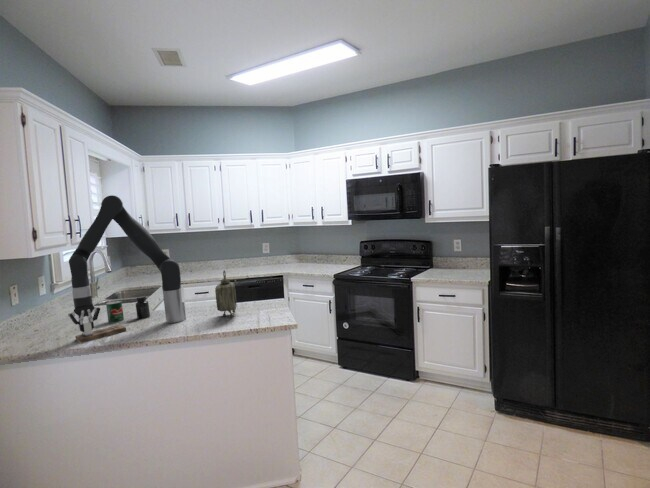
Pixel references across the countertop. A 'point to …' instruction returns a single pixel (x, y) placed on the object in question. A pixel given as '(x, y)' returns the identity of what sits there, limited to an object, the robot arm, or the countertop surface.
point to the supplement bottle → (142, 308)
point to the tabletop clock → (226, 296)
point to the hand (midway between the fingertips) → (87, 330)
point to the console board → (101, 333)
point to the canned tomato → (115, 311)
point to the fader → (87, 329)
